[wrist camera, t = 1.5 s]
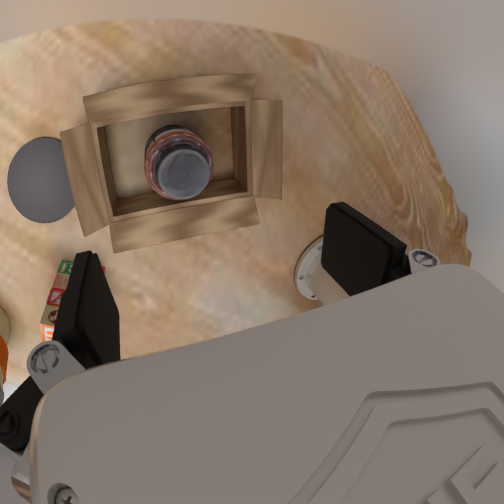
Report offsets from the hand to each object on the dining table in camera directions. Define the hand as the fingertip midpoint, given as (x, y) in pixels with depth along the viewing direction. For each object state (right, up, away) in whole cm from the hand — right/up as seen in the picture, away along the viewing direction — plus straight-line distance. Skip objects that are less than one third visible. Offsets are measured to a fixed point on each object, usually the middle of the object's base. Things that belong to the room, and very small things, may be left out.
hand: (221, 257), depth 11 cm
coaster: (-22, +8, +14) cm, 28 cm away
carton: (-8, +11, +18) cm, 23 cm away
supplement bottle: (-8, +11, +19) cm, 23 cm away
